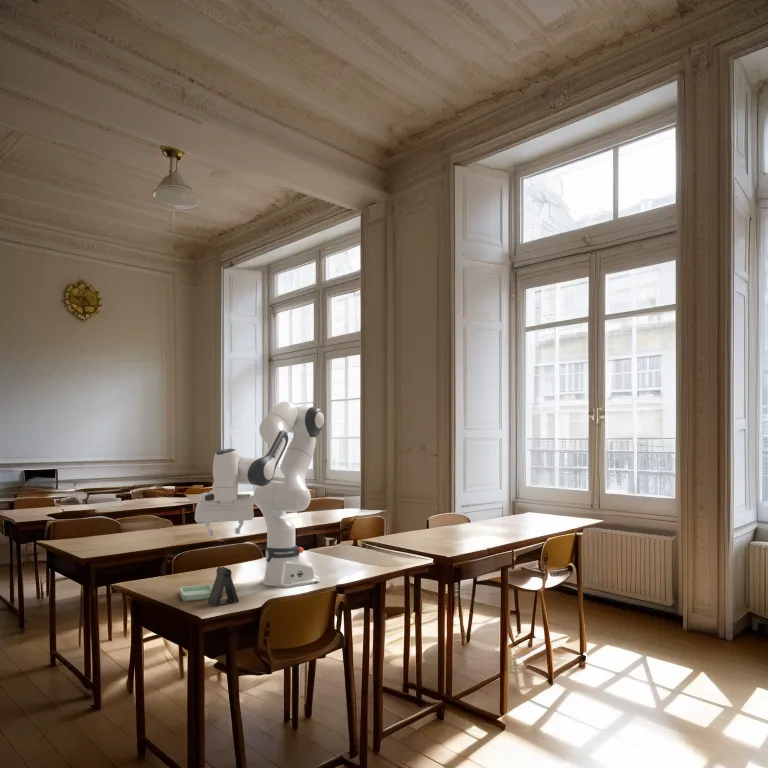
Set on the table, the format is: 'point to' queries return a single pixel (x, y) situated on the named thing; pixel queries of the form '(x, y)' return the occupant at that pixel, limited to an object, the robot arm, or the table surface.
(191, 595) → the tray
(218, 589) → the dark grey a-shaped stand
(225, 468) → the robot arm
